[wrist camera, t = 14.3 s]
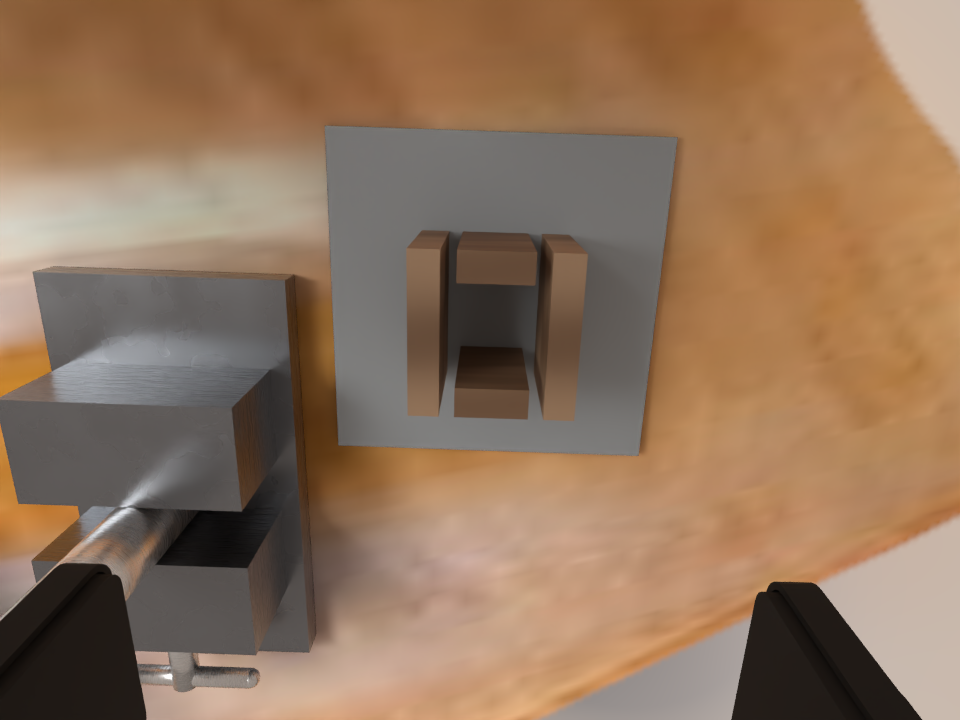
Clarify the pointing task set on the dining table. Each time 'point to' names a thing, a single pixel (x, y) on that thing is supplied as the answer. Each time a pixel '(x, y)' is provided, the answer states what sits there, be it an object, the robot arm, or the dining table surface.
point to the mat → (490, 307)
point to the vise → (175, 458)
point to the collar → (495, 370)
